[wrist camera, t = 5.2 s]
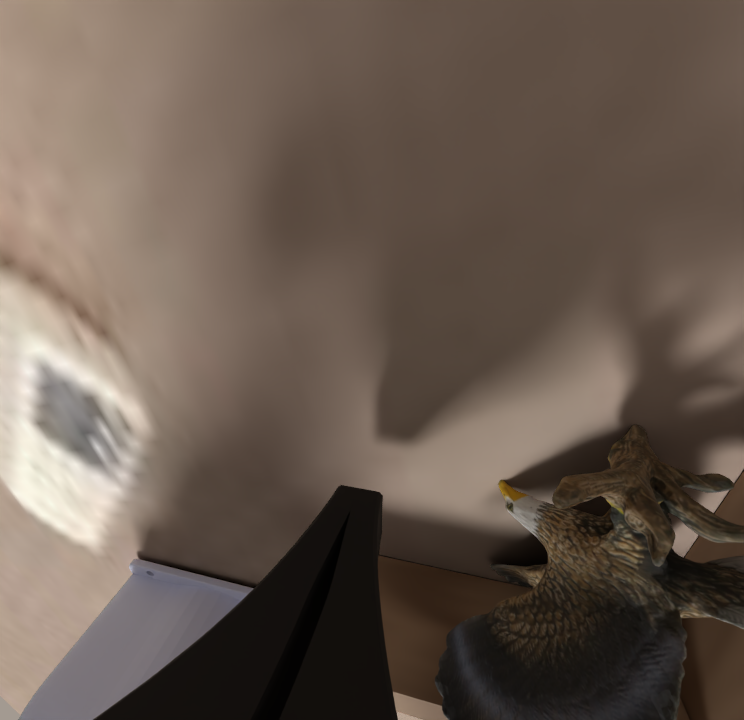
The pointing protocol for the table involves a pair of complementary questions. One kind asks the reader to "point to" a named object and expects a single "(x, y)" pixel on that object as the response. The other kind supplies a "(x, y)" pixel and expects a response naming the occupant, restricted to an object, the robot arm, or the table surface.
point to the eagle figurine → (597, 600)
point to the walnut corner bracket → (479, 595)
